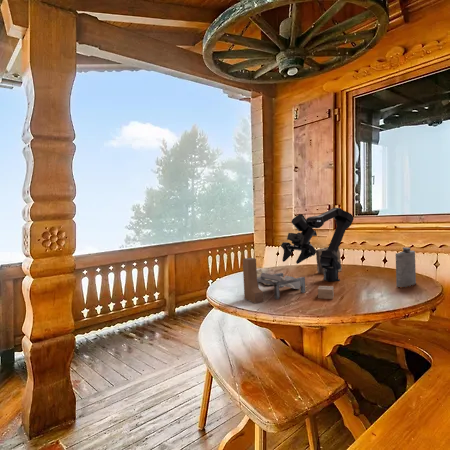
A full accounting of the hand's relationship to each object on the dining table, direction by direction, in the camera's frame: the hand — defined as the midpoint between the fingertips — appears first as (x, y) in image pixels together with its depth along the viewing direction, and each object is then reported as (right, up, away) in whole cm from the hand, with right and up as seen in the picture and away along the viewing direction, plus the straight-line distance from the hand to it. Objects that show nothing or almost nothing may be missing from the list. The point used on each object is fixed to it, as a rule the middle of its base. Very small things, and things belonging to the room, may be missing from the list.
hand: (289, 262), depth 149 cm
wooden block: (-18, -15, -14) cm, 28 cm away
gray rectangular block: (-1, -9, -1) cm, 9 cm away
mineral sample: (+32, -11, +38) cm, 50 cm away
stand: (+13, -13, -14) cm, 23 cm away
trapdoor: (-7, -10, -4) cm, 13 cm away
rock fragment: (-10, -13, +27) cm, 31 cm away
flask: (+55, -11, -2) cm, 56 cm away
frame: (-5, -14, -3) cm, 15 cm away
